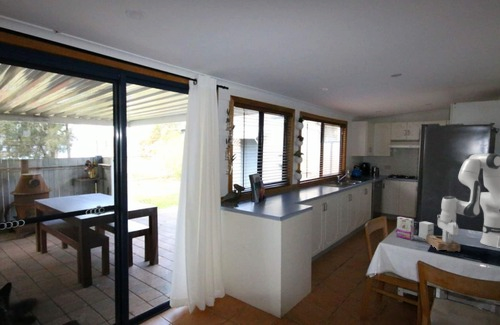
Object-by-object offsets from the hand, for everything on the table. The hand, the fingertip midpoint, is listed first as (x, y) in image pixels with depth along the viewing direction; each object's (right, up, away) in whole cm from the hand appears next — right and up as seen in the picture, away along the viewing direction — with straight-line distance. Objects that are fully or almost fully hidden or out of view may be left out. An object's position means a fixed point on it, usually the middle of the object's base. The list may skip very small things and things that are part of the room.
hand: (447, 237), depth 190 cm
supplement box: (0, -7, +23) cm, 24 cm away
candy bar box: (-17, -7, +23) cm, 30 cm away
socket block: (0, -8, +5) cm, 10 cm away
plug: (0, -4, 0) cm, 4 cm away
